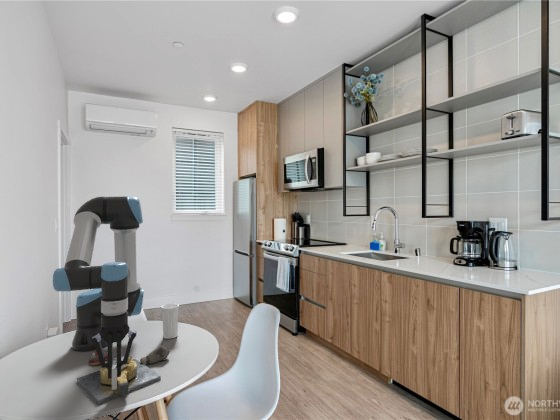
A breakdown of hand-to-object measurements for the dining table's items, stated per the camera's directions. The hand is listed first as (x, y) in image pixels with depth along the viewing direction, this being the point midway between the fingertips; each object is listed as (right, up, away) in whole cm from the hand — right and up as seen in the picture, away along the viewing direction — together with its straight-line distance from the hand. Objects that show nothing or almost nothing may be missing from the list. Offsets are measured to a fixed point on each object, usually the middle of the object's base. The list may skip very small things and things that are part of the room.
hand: (114, 387), depth 105 cm
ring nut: (-1, -1, +6) cm, 6 cm away
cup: (+2, -3, +49) cm, 49 cm away
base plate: (-3, -3, +10) cm, 11 cm away
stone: (+4, -3, +24) cm, 24 cm away
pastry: (-18, -3, +24) cm, 30 cm away
